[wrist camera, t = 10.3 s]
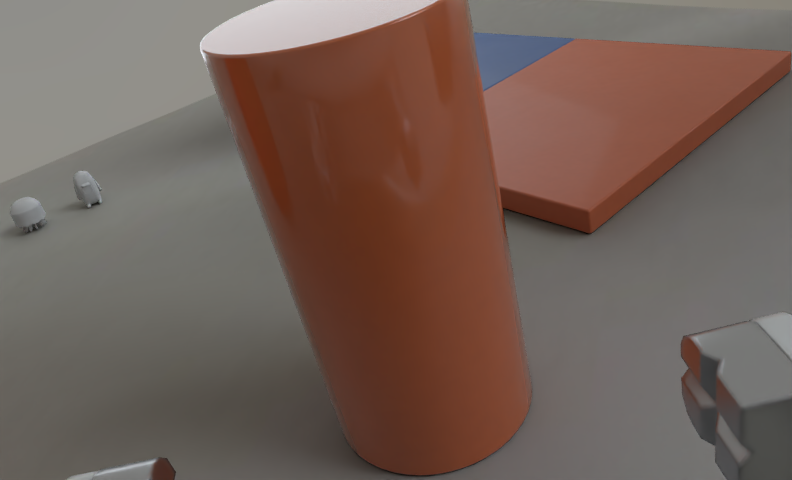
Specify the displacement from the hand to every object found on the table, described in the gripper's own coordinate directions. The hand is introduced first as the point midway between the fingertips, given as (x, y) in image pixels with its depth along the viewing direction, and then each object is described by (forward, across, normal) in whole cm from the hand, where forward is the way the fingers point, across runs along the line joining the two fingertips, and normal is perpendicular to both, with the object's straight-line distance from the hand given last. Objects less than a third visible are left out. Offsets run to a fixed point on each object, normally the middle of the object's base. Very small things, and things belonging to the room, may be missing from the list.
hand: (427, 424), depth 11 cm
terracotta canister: (+7, 0, +6) cm, 9 cm away
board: (+27, -6, +6) cm, 29 cm away
